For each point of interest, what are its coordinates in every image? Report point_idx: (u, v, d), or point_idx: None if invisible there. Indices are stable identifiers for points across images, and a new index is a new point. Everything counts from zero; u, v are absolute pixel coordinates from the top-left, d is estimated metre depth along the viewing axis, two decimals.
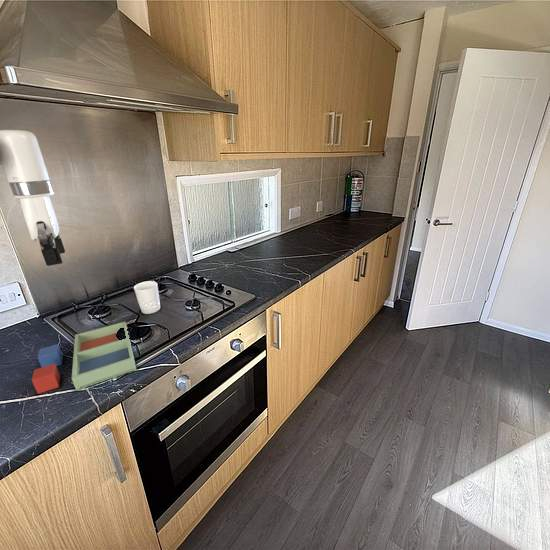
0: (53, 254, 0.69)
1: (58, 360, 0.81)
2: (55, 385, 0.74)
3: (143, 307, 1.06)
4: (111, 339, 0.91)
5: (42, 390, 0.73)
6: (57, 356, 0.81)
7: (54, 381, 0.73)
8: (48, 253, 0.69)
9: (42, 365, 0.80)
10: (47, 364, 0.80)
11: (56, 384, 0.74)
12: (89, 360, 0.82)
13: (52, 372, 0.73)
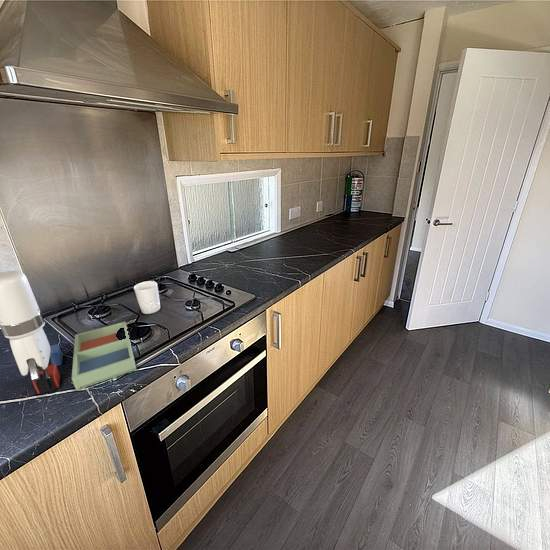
0: (46, 384, 0.71)
1: (58, 360, 0.81)
2: (55, 385, 0.74)
3: (143, 307, 1.06)
4: (111, 339, 0.91)
5: None
6: (57, 356, 0.81)
7: (54, 381, 0.73)
8: (41, 384, 0.71)
9: None
10: None
11: (56, 384, 0.74)
12: (89, 360, 0.82)
13: (52, 372, 0.73)
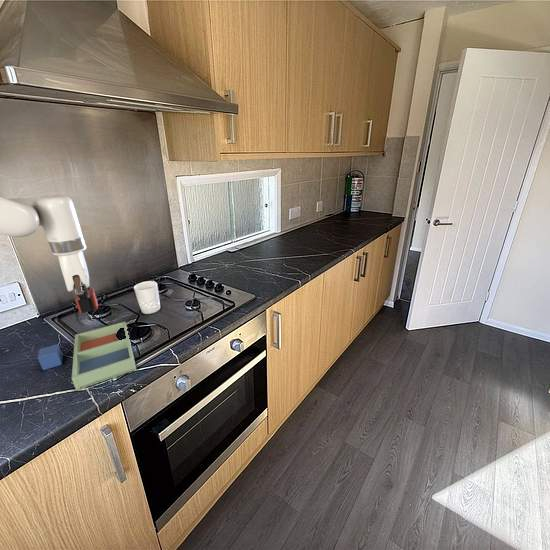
0: (88, 303, 0.79)
1: (58, 360, 0.81)
2: (94, 306, 0.81)
3: (143, 307, 1.06)
4: (111, 339, 0.91)
5: None
6: (57, 356, 0.81)
7: (93, 302, 0.81)
8: (83, 302, 0.78)
9: (42, 365, 0.80)
10: (47, 364, 0.80)
11: (95, 305, 0.81)
12: (89, 360, 0.82)
13: (92, 294, 0.80)
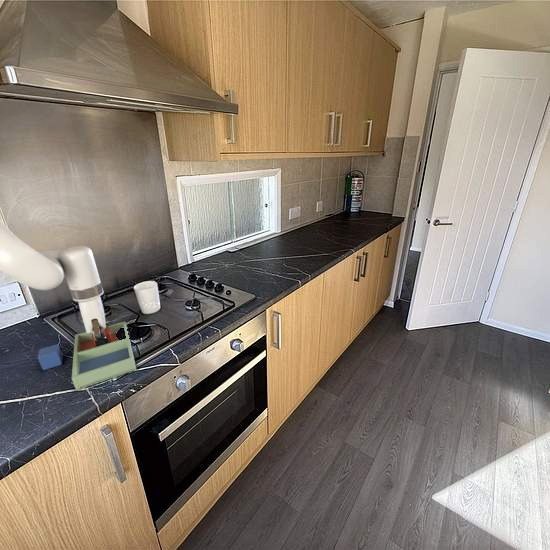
0: (104, 343, 0.85)
1: (58, 360, 0.81)
2: None
3: (143, 307, 1.06)
4: None
5: None
6: (57, 356, 0.81)
7: (109, 340, 0.87)
8: (100, 343, 0.84)
9: (42, 365, 0.80)
10: (47, 364, 0.80)
11: None
12: (89, 360, 0.82)
13: (108, 332, 0.87)
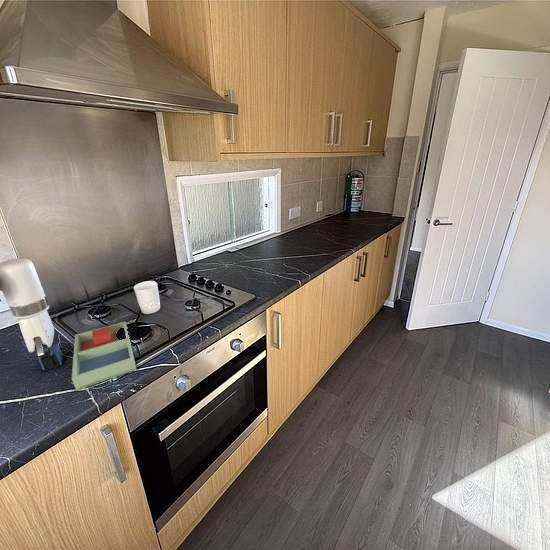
0: (50, 361, 0.79)
1: (58, 360, 0.81)
2: None
3: (143, 307, 1.06)
4: None
5: None
6: (57, 356, 0.81)
7: (109, 340, 0.87)
8: (46, 361, 0.79)
9: (42, 365, 0.80)
10: None
11: None
12: (89, 360, 0.82)
13: (108, 332, 0.87)
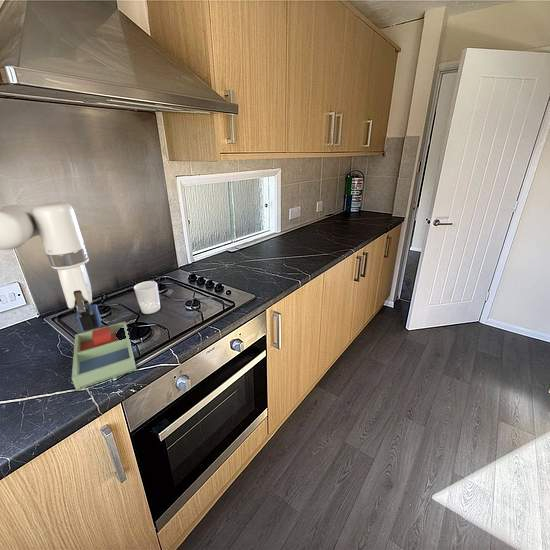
0: (90, 320, 0.72)
1: (97, 320, 0.74)
2: None
3: (143, 307, 1.06)
4: None
5: None
6: (96, 316, 0.73)
7: (109, 340, 0.87)
8: (86, 320, 0.71)
9: (81, 325, 0.72)
10: None
11: None
12: (89, 360, 0.82)
13: (108, 332, 0.87)
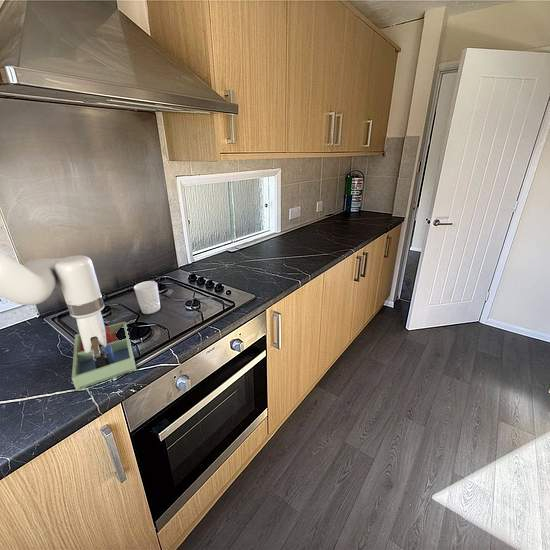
0: (104, 363, 0.76)
1: (112, 361, 0.79)
2: None
3: (143, 307, 1.06)
4: None
5: None
6: (111, 357, 0.78)
7: (109, 340, 0.87)
8: (100, 363, 0.75)
9: None
10: None
11: None
12: (89, 360, 0.82)
13: (108, 332, 0.87)
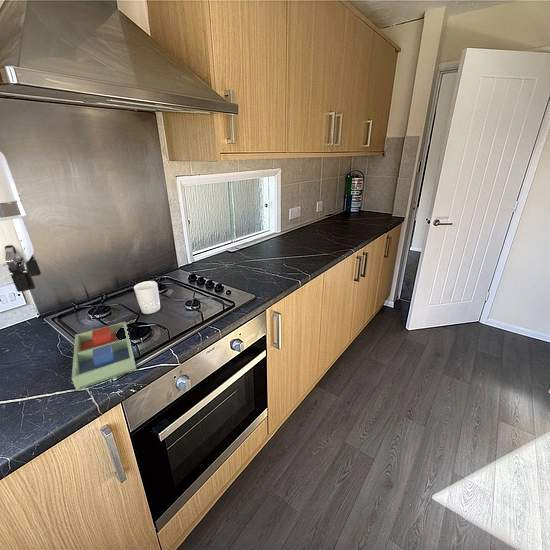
0: (24, 279, 0.65)
1: (112, 361, 0.79)
2: None
3: (143, 307, 1.06)
4: None
5: None
6: (111, 357, 0.78)
7: (109, 340, 0.87)
8: (19, 279, 0.64)
9: (97, 366, 0.77)
10: (101, 365, 0.78)
11: None
12: (89, 360, 0.82)
13: (108, 332, 0.87)
